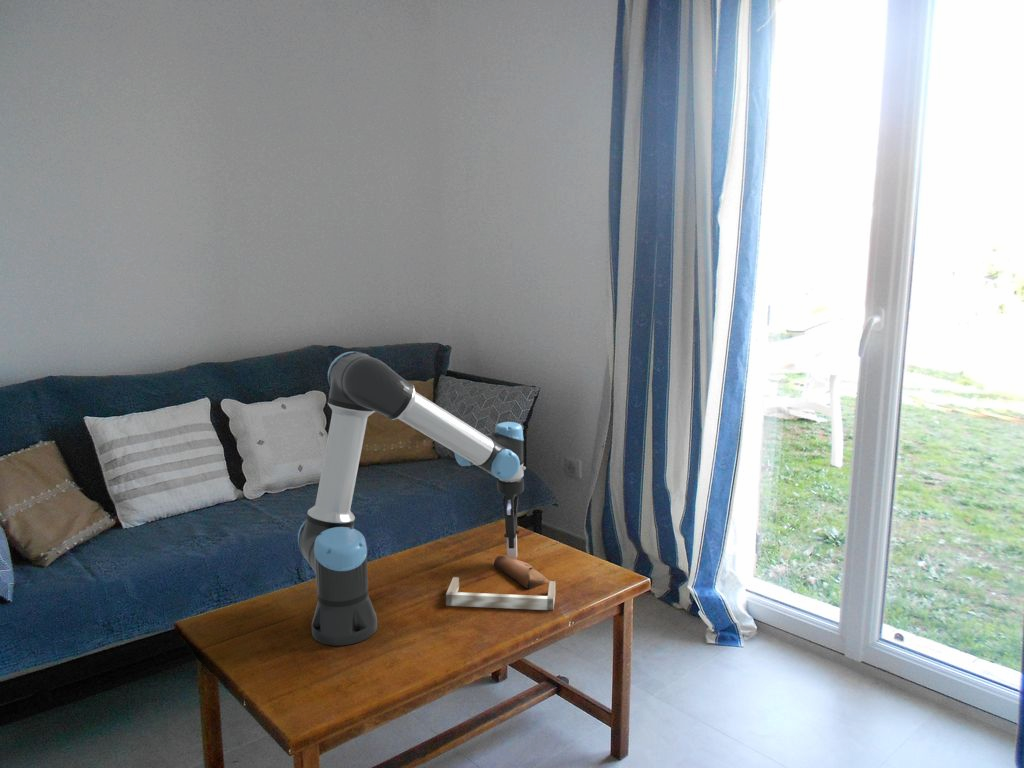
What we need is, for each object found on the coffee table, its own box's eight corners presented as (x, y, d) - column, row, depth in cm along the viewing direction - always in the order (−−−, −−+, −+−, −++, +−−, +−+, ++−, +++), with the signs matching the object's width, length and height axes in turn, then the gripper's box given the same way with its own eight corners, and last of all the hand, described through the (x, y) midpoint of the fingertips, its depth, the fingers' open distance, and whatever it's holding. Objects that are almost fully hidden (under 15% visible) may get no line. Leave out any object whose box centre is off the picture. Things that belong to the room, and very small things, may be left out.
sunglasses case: (554, 583, 201) (543, 566, 198) (535, 601, 198) (524, 584, 195) (518, 560, 216) (508, 544, 213) (500, 577, 213) (489, 560, 211)
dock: (446, 605, 188) (445, 594, 188) (453, 587, 198) (453, 577, 198) (553, 610, 185) (553, 599, 185) (555, 592, 195) (555, 581, 195)
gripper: (521, 485, 201) (523, 567, 206) (525, 470, 214) (527, 547, 219) (494, 485, 202) (496, 566, 207) (499, 470, 215) (501, 547, 220)
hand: (512, 556), depth 213 cm, fingers closed
